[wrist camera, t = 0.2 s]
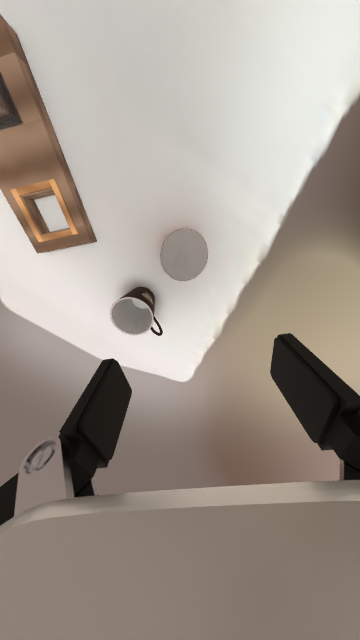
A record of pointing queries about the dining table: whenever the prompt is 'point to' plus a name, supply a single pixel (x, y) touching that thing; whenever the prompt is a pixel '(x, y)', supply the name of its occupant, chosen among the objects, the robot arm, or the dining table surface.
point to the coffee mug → (135, 312)
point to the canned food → (184, 254)
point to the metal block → (7, 108)
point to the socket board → (35, 158)
